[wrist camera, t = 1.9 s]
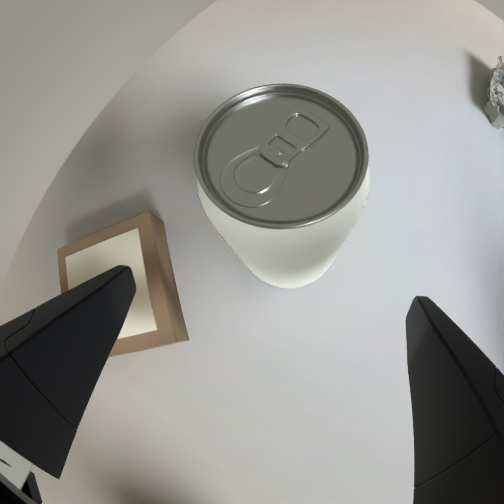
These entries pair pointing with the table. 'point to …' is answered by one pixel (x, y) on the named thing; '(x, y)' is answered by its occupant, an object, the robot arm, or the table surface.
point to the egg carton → (495, 96)
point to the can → (283, 179)
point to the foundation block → (145, 274)
